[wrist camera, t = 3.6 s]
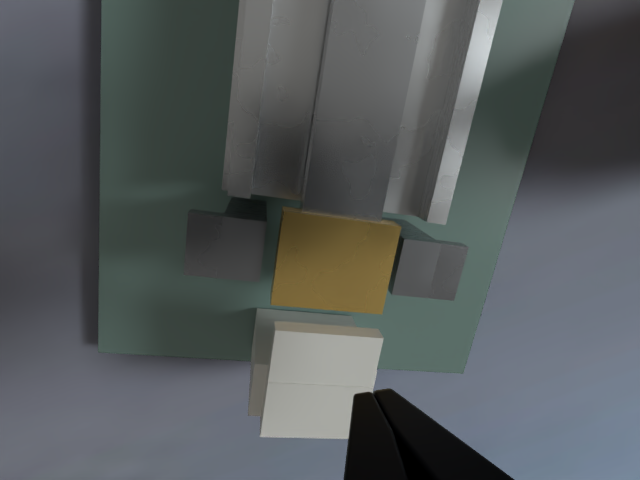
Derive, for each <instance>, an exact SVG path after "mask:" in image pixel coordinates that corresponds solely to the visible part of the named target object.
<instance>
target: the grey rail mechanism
mask: <svg viewBox="0 0 640 480" xmlns="http://www.w3.org/2000/svg"><path fill="white" fill-rule="evenodd" d="M502 1H503V0H426V4H425V9H424V14H423V19H422V23H421V28H420V33H419V38H418V43H417V48H416V53H415V58H414V62H413V67H412V72H411V77H410V82H409V87H408V92H407V97H406V101H405V106H404V111H403V116H402V121H401V126H400V131H399V136H398V140H397V145H396V150H395V155H394V160H393V165H392V170H391V175H390V179H389V184H388V189H387V194H386V199H385V204H384V209H383V212H387V213H394V214H402V215H409V216H417V217H419V218H420V219H422V220H424V221H425V222H429V223H436V224H444V225H446V221H447V217H448V213H449V209H450V206H451V202H452V198H453V194H454V190H455V186H456V182H457V178H458V174H459V170H460V166H461V162H462V158H463V155H464V151H465V147H466V143H467V139H468V135H469V131H470V127H471V123H472V119H473V115H474V111H475V107H476V104H477V100H478V96H479V92H480V88H481V84H482V80H483V76H484V72H485V68H486V64H487V60H488V56H489V53H490V49H491V45H492V41H493V37H494V33H495V29H496V25H497V21H498V17H499V13H500V9H501V5H502ZM330 2H331V0H239V10H238V21H237V32H236V42H235V53H234V63H233V74H232V85H231V95H230V106H229V117H228V127H227V138H226V149H225V159H224V170H223V181H222V190H225V191H228V193H227V196H234V197H232V198H231V200H230V202H229V204H228V206H227V208H226V210H225V212H224V213H220V212H212V211H204V210H196V209H190V211H189V212H188V219H187V233H186V247H185V261H184V275H188V276H199V277H209V278H220V279H230V280H241V281H251V282H259V281H260V273H261V265H262V257H263V249H264V242H265V234H266V226H267V205H266V201H262V200H254V199H250V197H251V194H255V195H262V196H269V197H277V198H284V199H292V200H299V201H301V197H302V191H303V184H304V177H305V170H306V164H307V157H308V150H309V143H310V137H311V130H312V123H313V117H314V110H315V103H316V96H317V90H318V83H319V76H320V69H321V63H322V56H323V49H324V43H325V36H326V29H327V22H328V16H329V9H330ZM239 197H242V198H239ZM247 198H249V199H247ZM381 219H384V220H392V221H394V222H395V223H397V224H398V225H400V226H401V231H400V235H399V240H398V244H397V249H396V254H395V258H394V263H393V267H392V272H391V276H390V281H389V285H388V291H389V292H390V293H391V295H398V296H409V297H419V298H430V299H440V300H451V301H454V300H455V296H456V292H457V289H458V285H459V282H460V278H461V274H462V271H463V267H464V263H465V260H466V256H467V252H468V249H469V247H468V246H466V245H465V244H463V243H459V242H451V241H443V240H435V239H434V238H432V237H431V236H429V235H428V234H426V233H425V232H423V231H422V230H420V229H419V228H417V227H415V226H414V225H412V224H411V223H409V222H408V221H406V220H404V219H397V218H389V217H382V218H381Z"/></svg>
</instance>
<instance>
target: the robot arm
mask: <svg viewBox="0 0 640 480" xmlns="http://www.w3.org/2000/svg"><path fill="white" fill-rule="evenodd" d="M344 480H514V479H513V478H511V477H510V476H509V475H507V474H506V473H505V472H503V471H502V470H501V469H499V468H498V467H497V466H495V465H494V464H492V463H491V462H490V461H488V460H487V459H486V458H484V457H483V456H482V455H480V454H479V453H478V452H476V451H475V450H474V449H472V448H471V447H470V446H468V445H467V444H465V443H464V442H463V441H461V440H460V439H459V438H457V437H456V436H455V435H453V434H452V433H451V432H449V431H448V430H447V429H445V428H444V427H442V426H441V425H440V424H438V423H437V422H436V421H434V420H433V419H432V418H430V417H429V416H428V415H426V414H425V413H424V412H422V411H421V410H419V409H418V408H417V407H415V406H414V405H413V404H411V403H410V402H409V401H407V400H406V399H405V398H403V397H402V396H401V395H399V394H398V393H396V392H395V391H394V390H392V389H382V390H376V391H374V392H373V393H372V392H362V393H356V394H354V396H353V403H352V412H351V421H350V429H349V438H348V446H347V455H346V464H345V472H344Z"/></svg>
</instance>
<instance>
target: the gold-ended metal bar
mask: <svg viewBox="0 0 640 480" xmlns="http://www.w3.org/2000/svg"><path fill="white" fill-rule="evenodd" d="M425 4H426V0H331V2H330V9H329V16H328V22H327V29H326V36H325V43H324V49H323V56H322V63H321V69H320V76H319V83H318V90H317V96H316V103H315V110H314V117H313V123H312V130H311V137H310V143H309V150H308V157H307V164H306V170H305V177H304V184H303V191H302V197H301V204H300V208H293V207H286V206H282V211H281V219H280V226H279V233H278V241H277V248H276V255H275V263H274V270H273V277H272V285H271V292H270V302H271V305H276V306H288V307H300V308H311V309H323V310H335V311H347V312H358V313H370V314H382V313H383V308H384V304H385V299H386V294H387V290H388V285H389V281H390V276H391V272H392V267H393V263H394V258H395V254H396V249H397V244H398V240H399V235H400V231H401V226H400V225H398V224H397V223H395V222H394V221H392V220H384V219H381V218H382V214H383V209H384V204H385V199H386V194H387V189H388V184H389V179H390V175H391V170H392V165H393V160H394V155H395V150H396V145H397V140H398V136H399V131H400V126H401V121H402V116H403V111H404V106H405V101H406V97H407V92H408V87H409V82H410V77H411V72H412V67H413V62H414V58H415V53H416V48H417V43H418V38H419V33H420V28H421V23H422V19H423V14H424V9H425Z"/></svg>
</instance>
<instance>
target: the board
mask: <svg viewBox="0 0 640 480" xmlns="http://www.w3.org/2000/svg"><path fill="white" fill-rule="evenodd" d="M574 1H575V0H503V1H502V5H501V9H500V13H499V17H498V21H497V25H496V29H495V33H494V37H493V41H492V45H491V49H490V53H489V56H488V60H487V64H486V68H485V72H484V76H483V80H482V84H481V88H480V92H479V96H478V100H477V104H476V107H475V111H474V115H473V119H472V123H471V127H470V131H469V135H468V139H467V143H466V147H465V151H464V155H463V158H462V162H461V166H460V170H459V174H458V178H457V182H456V186H455V190H454V194H453V198H452V202H451V206H450V209H449V213H448V217H447V221H446V225H444V224H436V223H429V222H425V221H424V220H422V219H420V218H419V217H417V216H409V215H402V214H394V213H387V212H383V214H382V217H389V218H397V219H404V220H406V221H408V222H409V223H411V224H412V225H414V226H415V227H417V228H419V229H420V230H422V231H423V232H425V233H426V234H428V235H429V236H431V237H432V238H434V239H435V240H443V241H451V242H459V243H463V244H465V245H466V246H468V247H469V249H468V252H467V256H466V260H465V263H464V267H463V271H462V274H461V278H460V282H459V285H458V289H457V292H456V296H455V300H454V301H451V300H440V299H430V298H419V297H409V296H398V295H391V293H390V292H389V291H388V290H387V294H386V299H385V304H384V308H383V313H382V314H370V313H358V312H347V311H335V310H323V309H311V308H300V307H288V306H276V305H271V302H270V292H271V285H272V277H273V270H274V263H275V255H276V248H277V241H278V233H279V226H280V219H281V211H282V206H286V207H293V208H300V204H301V201H299V200H292V199H284V198H277V197H269V196H262V195H255V194H251V197H250V199H254V200H262V201H266V205H267V226H266V234H265V242H264V249H263V257H262V265H261V273H260V281H259V282H251V281H241V280H230V279H220V278H209V277H199V276H188V275H184V261H185V247H186V233H187V219H188V212H189V211H190V209H196V210H204V211H212V212H220V213H224V212H225V210H226V208H227V206H228V204H229V202H230V200H231V198H232V197H234V196H227V193H228V191H225V190H222V181H223V170H224V159H225V149H226V138H227V127H228V117H229V106H230V95H231V85H232V74H233V63H234V53H235V42H236V32H237V21H238V10H239V0H102V3H101V105H100V208H99V311H98V352H100V353H117V354H134V355H151V356H169V357H186V358H203V359H220V360H237V361H251V353H252V343H253V335H254V328H255V320H256V312H257V308H261V309H273V310H285V311H297V312H309V313H321V314H333V315H345V316H352V318H353V320H354V322H355V324H356V326H357V327H361V328H374V329H379V331H380V333H381V334H382V336H383V338H384V340H383V344H382V348H381V353H380V357H379V361H378V366H377V369H392V370H410V371H427V372H444V373H461V374H463V372H464V369H465V366H466V362H467V359H468V356H469V352H470V349H471V346H472V342H473V339H474V336H475V332H476V329H477V326H478V322H479V319H480V316H481V312H482V309H483V305H484V302H485V299H486V295H487V292H488V289H489V285H490V282H491V279H492V275H493V272H494V269H495V265H496V262H497V259H498V255H499V252H500V249H501V245H502V242H503V239H504V235H505V232H506V228H507V225H508V222H509V218H510V215H511V212H512V208H513V205H514V202H515V198H516V195H517V192H518V188H519V185H520V182H521V178H522V175H523V172H524V168H525V165H526V162H527V158H528V155H529V151H530V148H531V145H532V141H533V138H534V135H535V131H536V128H537V125H538V121H539V118H540V115H541V111H542V108H543V105H544V101H545V98H546V95H547V91H548V88H549V85H550V81H551V78H552V74H553V71H554V68H555V64H556V61H557V58H558V54H559V51H560V48H561V44H562V41H563V38H564V34H565V31H566V28H567V24H568V21H569V18H570V14H571V11H572V8H573V4H574ZM239 198H242V197H239ZM247 199H249V198H247Z"/></svg>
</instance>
